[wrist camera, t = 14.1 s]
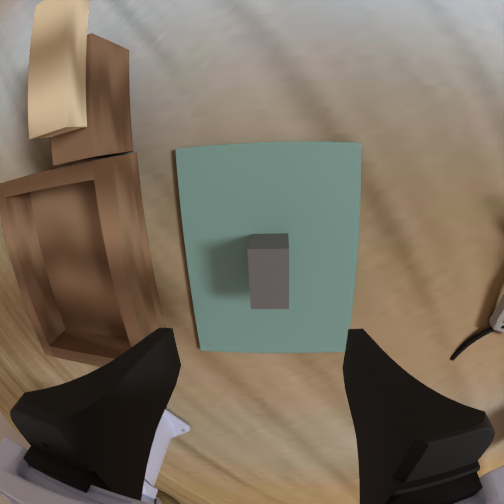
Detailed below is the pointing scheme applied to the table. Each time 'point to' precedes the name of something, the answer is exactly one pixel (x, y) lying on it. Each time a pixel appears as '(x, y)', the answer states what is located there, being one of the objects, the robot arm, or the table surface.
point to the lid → (271, 243)
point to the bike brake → (496, 321)
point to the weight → (165, 498)
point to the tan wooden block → (58, 68)
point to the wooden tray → (86, 229)
